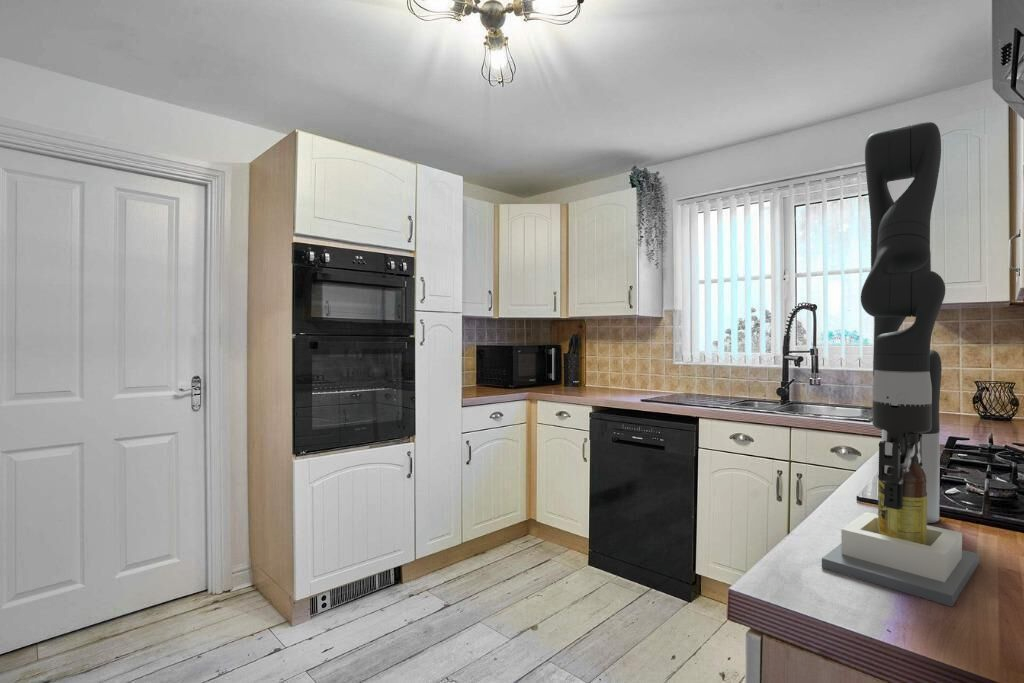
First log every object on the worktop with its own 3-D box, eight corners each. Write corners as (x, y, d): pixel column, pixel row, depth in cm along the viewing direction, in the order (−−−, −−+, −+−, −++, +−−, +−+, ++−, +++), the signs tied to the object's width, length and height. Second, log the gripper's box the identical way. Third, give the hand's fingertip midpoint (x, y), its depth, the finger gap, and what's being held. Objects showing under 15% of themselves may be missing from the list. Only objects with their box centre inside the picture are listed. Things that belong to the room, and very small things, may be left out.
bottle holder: (863, 534, 97) (863, 504, 97) (979, 563, 85) (979, 528, 85) (821, 567, 84) (821, 532, 84) (952, 606, 72) (952, 566, 71)
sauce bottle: (879, 543, 89) (880, 425, 88) (927, 553, 85) (927, 429, 84) (876, 557, 84) (876, 431, 83) (926, 568, 80) (927, 436, 79)
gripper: (886, 393, 91) (886, 487, 91) (859, 401, 82) (858, 506, 82) (941, 397, 85) (941, 497, 86) (919, 406, 76) (918, 519, 76)
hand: (901, 502), depth 84 cm, fingers open, 8 cm apart
